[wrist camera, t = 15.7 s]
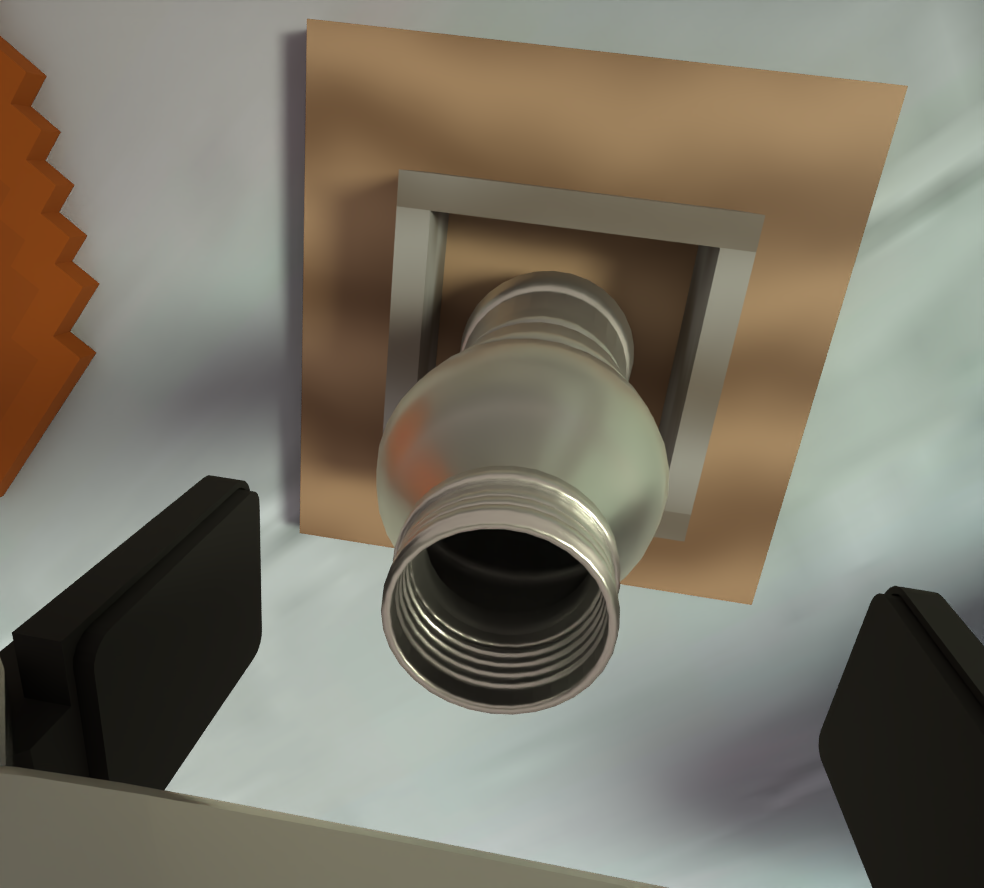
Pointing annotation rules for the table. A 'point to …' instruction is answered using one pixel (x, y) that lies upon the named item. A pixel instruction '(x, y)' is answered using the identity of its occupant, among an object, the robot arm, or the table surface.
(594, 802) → the table surface
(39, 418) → the pizza
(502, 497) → the plastic bottle
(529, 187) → the collar board
